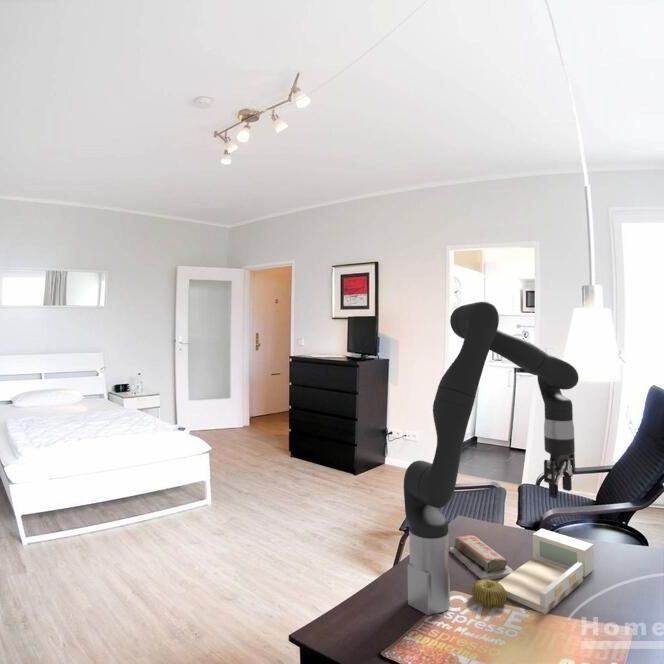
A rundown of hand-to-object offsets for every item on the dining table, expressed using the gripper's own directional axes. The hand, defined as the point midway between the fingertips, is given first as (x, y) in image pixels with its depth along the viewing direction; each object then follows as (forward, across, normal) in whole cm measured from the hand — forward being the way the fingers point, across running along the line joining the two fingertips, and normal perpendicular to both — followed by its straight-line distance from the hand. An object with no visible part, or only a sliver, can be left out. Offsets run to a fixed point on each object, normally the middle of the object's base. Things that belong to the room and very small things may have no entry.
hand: (560, 493), depth 129 cm
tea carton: (+20, 0, 0) cm, 20 cm away
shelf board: (+19, -16, -1) cm, 25 cm away
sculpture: (+19, -31, +4) cm, 37 cm away
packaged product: (+20, -16, +16) cm, 30 cm away
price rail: (+18, -16, -7) cm, 25 cm away
